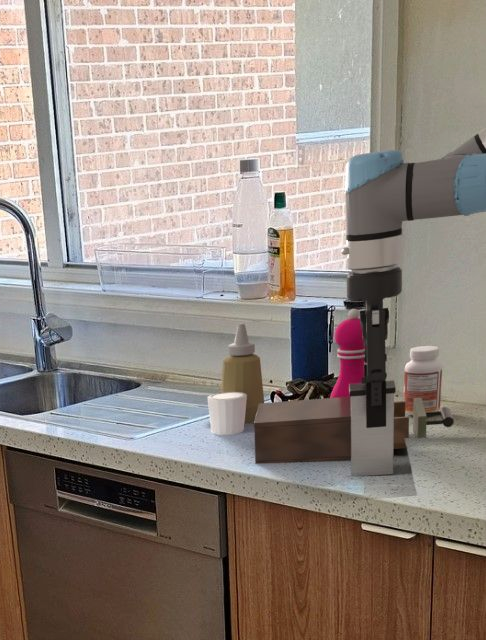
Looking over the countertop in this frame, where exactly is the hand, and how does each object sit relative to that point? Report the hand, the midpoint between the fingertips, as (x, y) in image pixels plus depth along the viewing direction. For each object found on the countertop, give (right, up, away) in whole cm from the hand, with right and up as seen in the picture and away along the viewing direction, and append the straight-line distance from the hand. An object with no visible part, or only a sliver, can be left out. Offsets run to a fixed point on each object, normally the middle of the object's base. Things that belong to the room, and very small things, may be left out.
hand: (374, 416), depth 182 cm
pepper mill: (+6, +4, +30) cm, 30 cm away
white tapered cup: (-14, +5, +37) cm, 40 cm away
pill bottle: (+20, +8, +33) cm, 39 cm away
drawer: (+7, -1, +14) cm, 16 cm away
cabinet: (-5, -2, +19) cm, 19 cm away
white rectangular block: (+1, -8, +4) cm, 8 cm away
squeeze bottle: (-9, +8, +43) cm, 45 cm away
